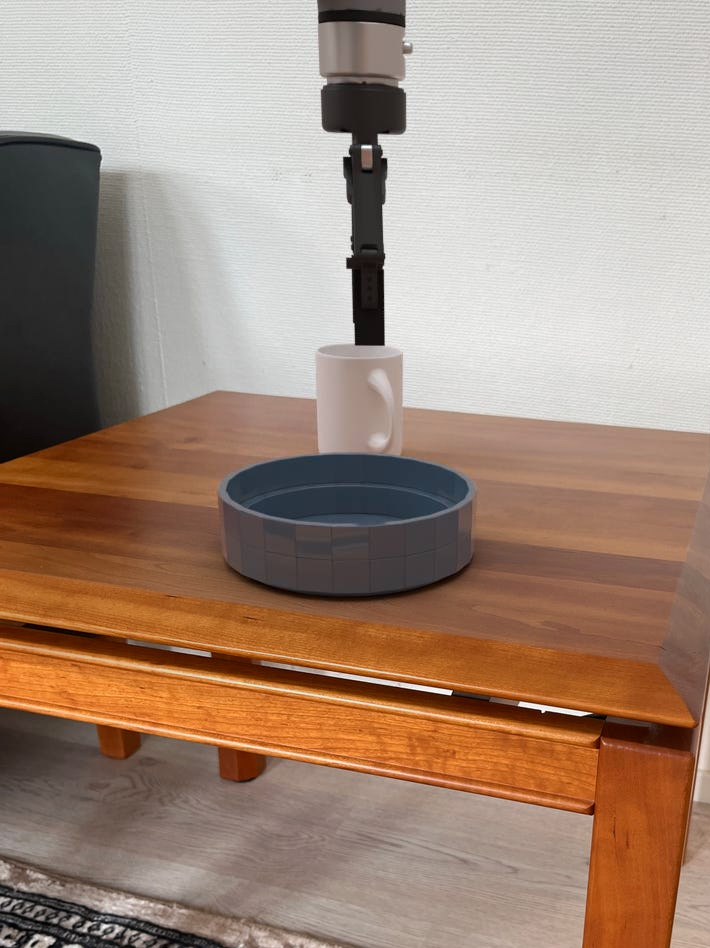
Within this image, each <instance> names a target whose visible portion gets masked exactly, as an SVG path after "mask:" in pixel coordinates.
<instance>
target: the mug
mask: <svg viewBox="0 0 710 948" xmlns="http://www.w3.org/2000/svg"><path fill="white" fill-rule="evenodd" d="M314 356H315V357H314V358H315V359H314V360H315V388H316V390H315V391H316V392H315V393H316V421H317V423H316V424H317V425H316V427H317V447H318V448H317V449H318V452H319V453H331V452H332V453H333V452H363V453H378V454H392V455H398V456H402V452H403V420H404V419H403V417H404V416H403V415H404V414H403V411H404V410H403V409H404V408H403V402H404V398H403V397H404V396H403V395H404V393H403V392H404V389H403V387H404V385H403V384H404V352H403V350H402V349H401V348H398V347H396V346H395V347H394V346H390V345H385V346H355V342H354V343H353V342H351V343H350V342H349V343H335V344H334V343H333V344H326V345H322V346H319V347H317V348H315V351H314Z"/></svg>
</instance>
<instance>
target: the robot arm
mask: <svg viewBox="0 0 710 948" xmlns="http://www.w3.org/2000/svg"><path fill="white" fill-rule="evenodd" d="M316 5H317V14H318V15H317V23H318V24H317V41H318V43H317V44H318V45H317V47H318V71H319V72H318V73H319V75H320V76H321V77H322V78H323V79H326V84H324V85H322V88H321V89H320V112H321V113H320V114H321V127H322V130H324V131H325V132H327V133H331V134H332V133H333V134H349V135H350V134H351V144H349V148H348V156H345V155H343V156H342V170H343V171H342V174H343V178H344V179H345V190H346V193H345V194H346V201H347V203H348V204H349V205H350V211H351V212H350V213H351V214H350V215H351V236H350V237H349V239H350V243H351V244H350V251H352V254H351V255H350V256H351V257H345V268H346V270H351V303H352V324H353V327H354V329H353V330H354V334H353V335H354V343H355V346H386V336H385V335H386V326H385V325H386V323H385V322H386V321H385V319H386V317H385V316H386V315H385V314H386V313H385V312H386V311H385V269H384V266H385V260H386V252H385V243H384V216H383V215H384V214H383V213H384V211H383V206H384V205H385V204H386V201H387V200H386V198H387V196H386V195H387V189H386V181H387V179H388V169H389V167H388V157H384V149H383V147H382V144H379V135H384V136H401V135H404V133H406V130H407V92H405V89H404V88H402V87H399V85H400V84H399V82H404V80H405V79H406V71H407V70H406V68H407V67H406V63H407V62H406V61H407V60H406V57H405V56H404V55H407V56H409V55H412V54H413V52H414V45H413V43H412V42H410V41H404V40H403V39H404V38H405V37H406V36H407V33H406V26H407V24H406V23H407V19H406V18H407V0H316Z"/></svg>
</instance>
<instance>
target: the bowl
mask: <svg viewBox="0 0 710 948" xmlns="http://www.w3.org/2000/svg"><path fill="white" fill-rule="evenodd" d="M216 492H217V506H218V507H217V508H218V518H219V519H218V520H219V532H220V546H221V553H222V555H223V557H224V560H225V562H226V563H227V565H228V566H229V567H231V568H232V569H234V570H235V571H236V572H238V573H239V574H241V575H242V576H245V577H247V578H249V579H252V580H255V581H257V582H259V583H262V584H264V585H266V586H269V587H273V588H275V589H276V588H277V589H280V590H284V591H289V592H293V593H294V592H295V593H299V594H300V593H301V594H306V595H314V596H323V597H326V596H327V597H369V596H380V595H388V594H394V593H400V592H405V591H410V590H415V589H418V588H422V587H425V586H428V585H431V584H434V583H436V582H438V581H440V580H443V579H444V578H447V577H449V576H451V575H454V574H456V573H458V572H460V570H461V569H463V568H465V566H467V565H468V564H469V563H471V560H472V557H473V555H474V554H475V550H476V531H477V530H476V529H477V504H478V503H477V502H478V489H477V487H476V485H475V482H474V480H473V479H471V478H470V477H468V476H467V474H465V473H463V471H460V470H457V469H455V468H452V467H450V466H447V465H446V464H442V463H438V462H435V461H431V460H426V459H423V458H418V457H411V456H405V455H400V456H398V455H392V454H378V453H363V452H333V453H332V452H331V453H304V454H295V455H289V456H281V457H274V458H271V459H267V460H262V461H259V462H254V463H251V464H248V465H246V466H243V467H241V468H238V469H235V470H234V471H231V472H230V473H229V474H228V475H226V476H225V477H224V478H222V479H221V480H220V483H219V484H218V488H217V491H216Z"/></svg>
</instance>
